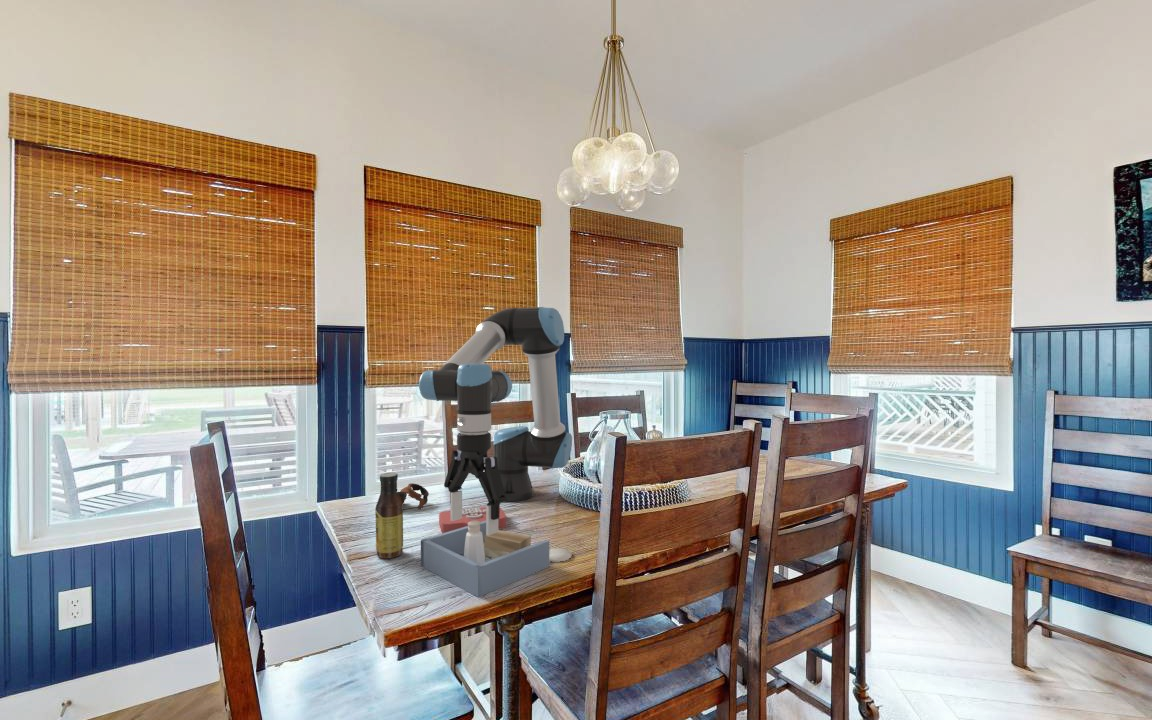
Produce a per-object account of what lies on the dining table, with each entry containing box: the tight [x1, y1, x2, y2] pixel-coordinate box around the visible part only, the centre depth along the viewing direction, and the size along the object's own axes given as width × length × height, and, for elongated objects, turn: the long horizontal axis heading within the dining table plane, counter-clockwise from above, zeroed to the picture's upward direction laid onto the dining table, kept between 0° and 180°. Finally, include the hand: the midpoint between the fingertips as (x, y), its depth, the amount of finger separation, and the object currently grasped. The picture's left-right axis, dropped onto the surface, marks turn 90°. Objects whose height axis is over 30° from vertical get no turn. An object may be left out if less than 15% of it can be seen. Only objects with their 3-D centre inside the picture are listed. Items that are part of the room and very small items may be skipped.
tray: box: [420, 521, 550, 598], centre depth 119 cm, size 20×22×6 cm
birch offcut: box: [483, 543, 509, 559], centre depth 124 cm, size 5×13×3 cm, turn 50°
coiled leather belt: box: [397, 483, 430, 510], centre depth 162 cm, size 12×10×8 cm
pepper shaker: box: [463, 521, 486, 564], centre depth 117 cm, size 5×5×11 cm
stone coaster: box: [549, 547, 573, 563], centre depth 125 cm, size 7×7×1 cm
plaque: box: [438, 506, 507, 534], centre depth 146 cm, size 18×4×15 cm
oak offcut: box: [485, 529, 532, 553], centre depth 124 cm, size 5×10×3 cm, turn 63°
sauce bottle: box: [374, 471, 404, 559], centre depth 125 cm, size 7×6×20 cm
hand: (473, 526), depth 116 cm, fingers open, 13 cm apart
